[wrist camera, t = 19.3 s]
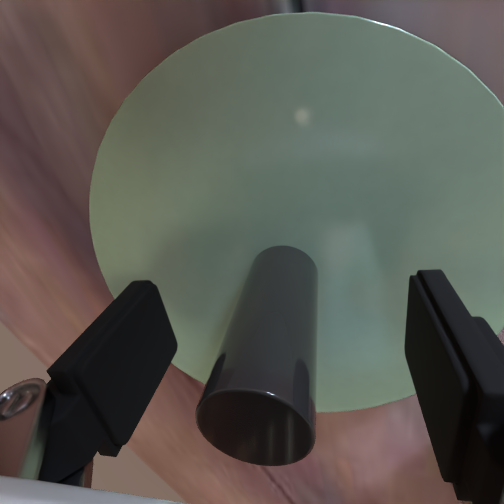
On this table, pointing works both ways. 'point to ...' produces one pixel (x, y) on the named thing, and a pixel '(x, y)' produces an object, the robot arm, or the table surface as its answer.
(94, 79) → the table surface
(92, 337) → the robot arm
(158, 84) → the lid
